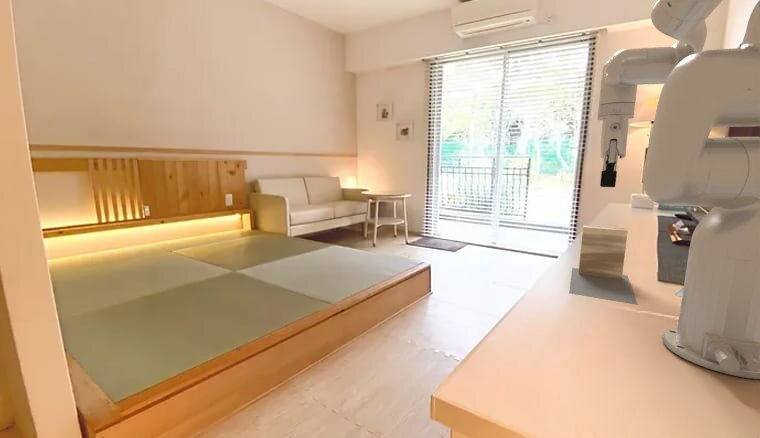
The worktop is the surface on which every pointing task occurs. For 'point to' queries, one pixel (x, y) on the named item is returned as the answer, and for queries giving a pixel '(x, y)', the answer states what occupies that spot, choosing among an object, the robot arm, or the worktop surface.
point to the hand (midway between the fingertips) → (607, 186)
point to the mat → (602, 287)
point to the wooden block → (603, 251)
